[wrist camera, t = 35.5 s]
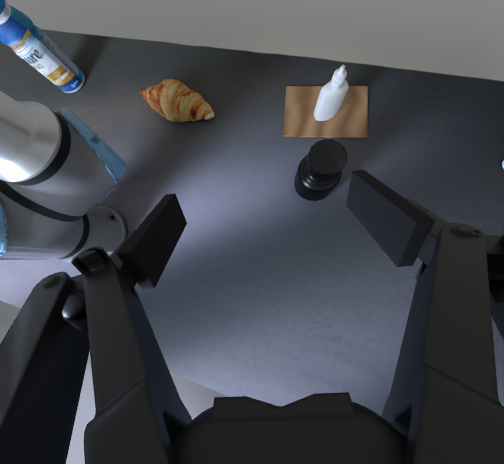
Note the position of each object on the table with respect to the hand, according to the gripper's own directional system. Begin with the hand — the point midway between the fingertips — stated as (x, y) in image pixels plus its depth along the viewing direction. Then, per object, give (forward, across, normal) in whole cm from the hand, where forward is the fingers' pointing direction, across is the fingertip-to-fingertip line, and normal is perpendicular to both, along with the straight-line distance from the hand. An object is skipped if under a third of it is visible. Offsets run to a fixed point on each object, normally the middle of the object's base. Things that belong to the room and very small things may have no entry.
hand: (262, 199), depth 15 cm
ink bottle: (+30, +12, -13) cm, 35 cm away
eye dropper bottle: (+42, +17, 0) cm, 46 cm away
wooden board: (+43, +18, 0) cm, 47 cm away
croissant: (+48, -20, +5) cm, 53 cm away
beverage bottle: (+59, -52, +16) cm, 81 cm away
